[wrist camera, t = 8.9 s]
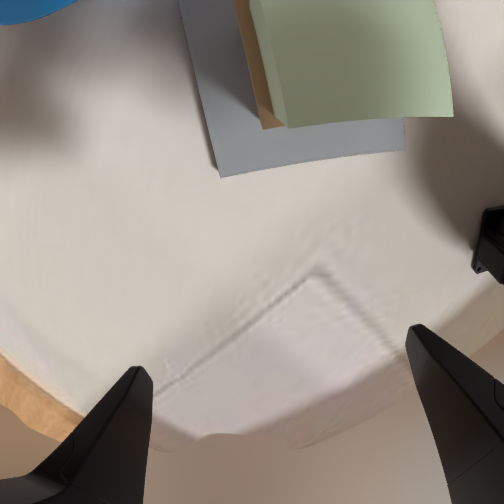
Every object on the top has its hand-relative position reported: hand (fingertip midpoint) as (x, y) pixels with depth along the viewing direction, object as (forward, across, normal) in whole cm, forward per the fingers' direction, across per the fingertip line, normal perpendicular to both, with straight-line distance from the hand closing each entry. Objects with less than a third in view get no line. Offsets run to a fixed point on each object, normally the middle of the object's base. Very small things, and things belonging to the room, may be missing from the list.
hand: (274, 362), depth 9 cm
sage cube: (+6, -4, -9) cm, 12 cm away
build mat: (+12, -4, -9) cm, 16 cm away
